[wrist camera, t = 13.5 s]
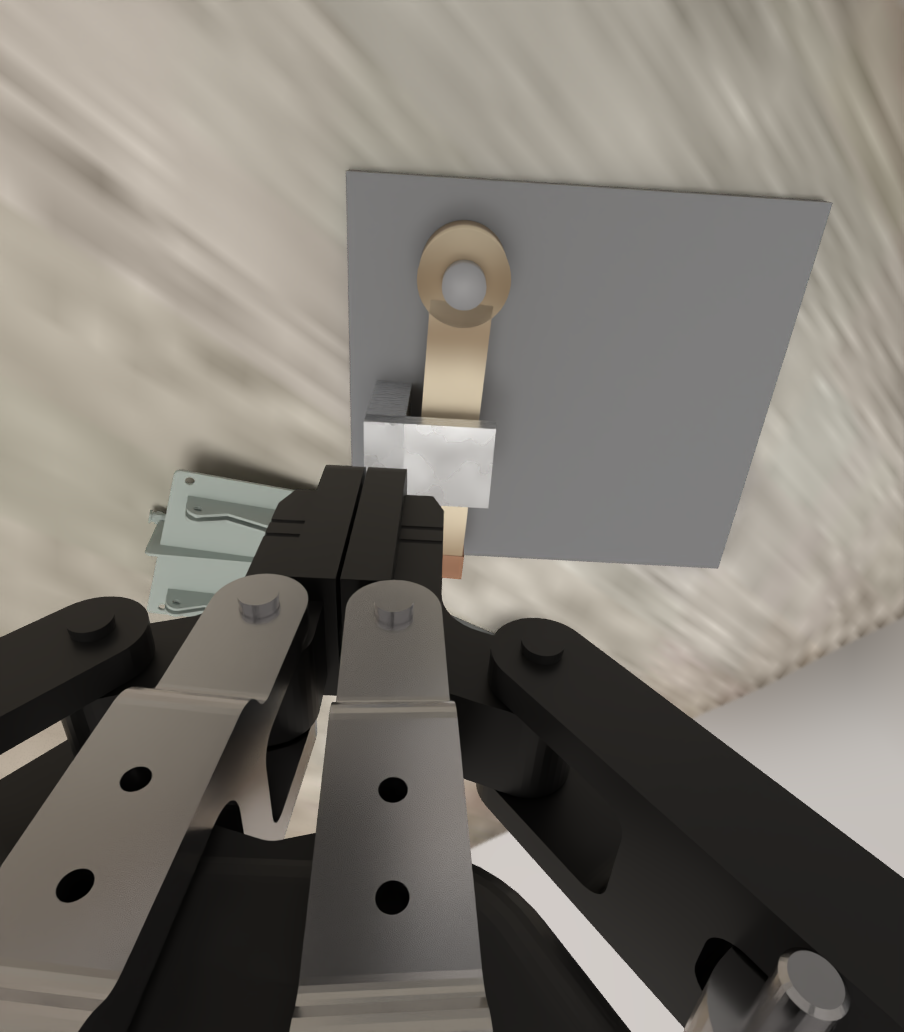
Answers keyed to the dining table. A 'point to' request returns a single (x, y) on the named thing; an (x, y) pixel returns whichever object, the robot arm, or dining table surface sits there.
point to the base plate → (593, 351)
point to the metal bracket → (206, 538)
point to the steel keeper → (429, 448)
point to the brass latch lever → (458, 344)
